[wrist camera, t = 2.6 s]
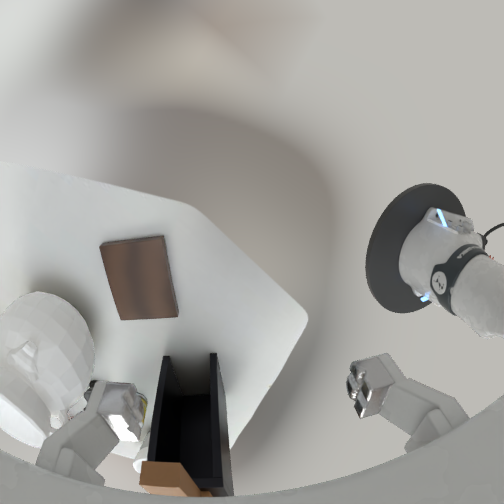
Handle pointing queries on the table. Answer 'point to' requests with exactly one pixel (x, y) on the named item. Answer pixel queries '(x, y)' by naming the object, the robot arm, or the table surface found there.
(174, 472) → the brown stepped block
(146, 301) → the board
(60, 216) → the table surface
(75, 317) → the pitcher
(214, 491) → the tall black box
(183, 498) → the robot arm
